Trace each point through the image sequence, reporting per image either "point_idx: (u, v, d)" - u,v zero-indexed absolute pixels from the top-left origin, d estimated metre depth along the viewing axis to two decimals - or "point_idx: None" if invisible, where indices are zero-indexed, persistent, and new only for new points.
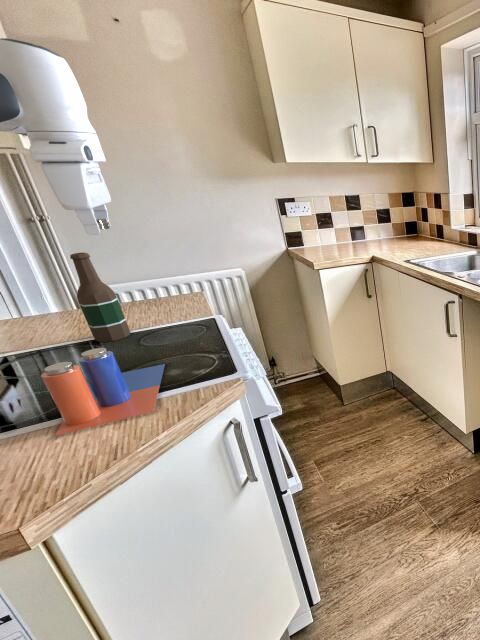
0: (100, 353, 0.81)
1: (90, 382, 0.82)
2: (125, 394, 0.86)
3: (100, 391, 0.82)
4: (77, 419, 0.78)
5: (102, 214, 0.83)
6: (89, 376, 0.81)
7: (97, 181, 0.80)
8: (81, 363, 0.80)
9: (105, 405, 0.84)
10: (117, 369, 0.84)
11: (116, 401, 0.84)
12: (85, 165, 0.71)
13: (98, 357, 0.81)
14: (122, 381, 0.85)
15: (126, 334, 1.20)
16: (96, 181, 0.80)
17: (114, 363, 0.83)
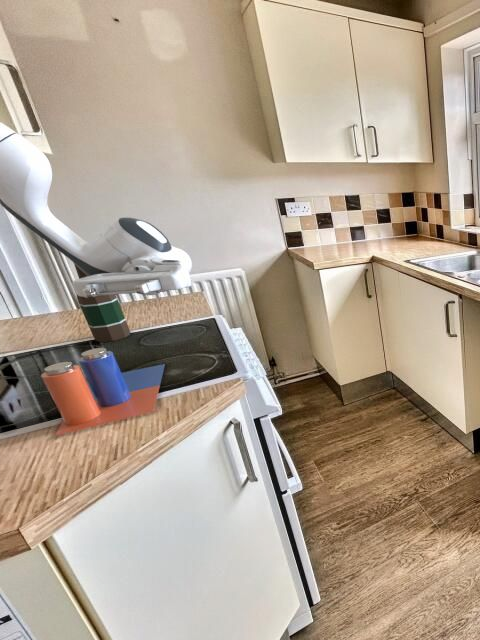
0: (100, 353, 0.81)
1: (90, 382, 0.82)
2: (125, 394, 0.86)
3: (100, 391, 0.82)
4: (77, 419, 0.78)
5: None
6: (89, 376, 0.81)
7: None
8: (81, 363, 0.80)
9: (105, 405, 0.84)
10: (117, 369, 0.84)
11: (116, 401, 0.84)
12: None
13: (98, 357, 0.81)
14: (122, 381, 0.85)
15: (126, 334, 1.20)
16: None
17: (114, 363, 0.83)
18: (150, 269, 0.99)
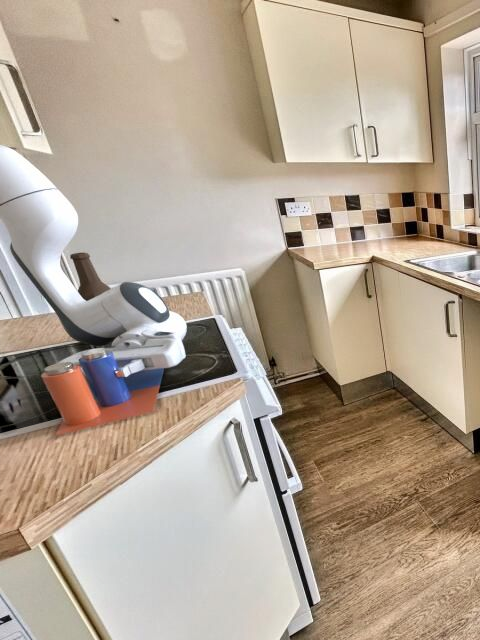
0: (100, 353, 0.81)
1: (90, 382, 0.82)
2: (125, 394, 0.86)
3: (100, 391, 0.82)
4: (77, 419, 0.78)
5: None
6: (89, 376, 0.81)
7: None
8: (81, 363, 0.80)
9: (105, 405, 0.84)
10: None
11: (116, 401, 0.84)
12: None
13: (98, 357, 0.81)
14: (122, 381, 0.85)
15: None
16: None
17: (114, 363, 0.83)
18: (141, 344, 0.93)
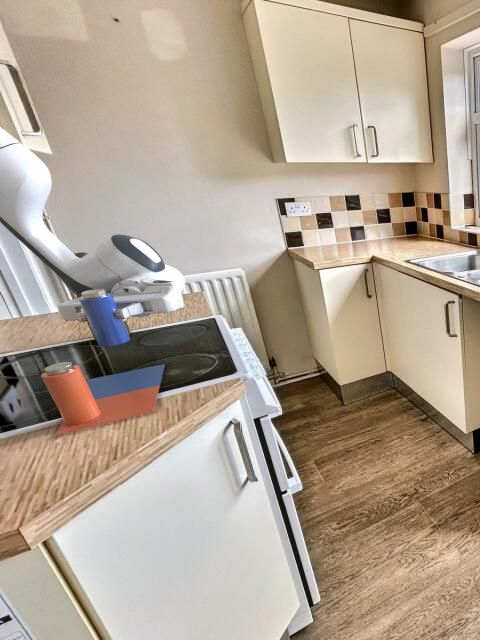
0: (99, 292, 0.83)
1: (90, 321, 0.83)
2: (125, 336, 0.87)
3: (100, 331, 0.84)
4: (77, 419, 0.78)
5: None
6: (89, 315, 0.83)
7: None
8: (81, 301, 0.82)
9: (105, 345, 0.85)
10: None
11: (115, 341, 0.86)
12: None
13: (97, 296, 0.83)
14: (121, 322, 0.87)
15: None
16: None
17: (113, 304, 0.85)
18: (140, 290, 0.94)
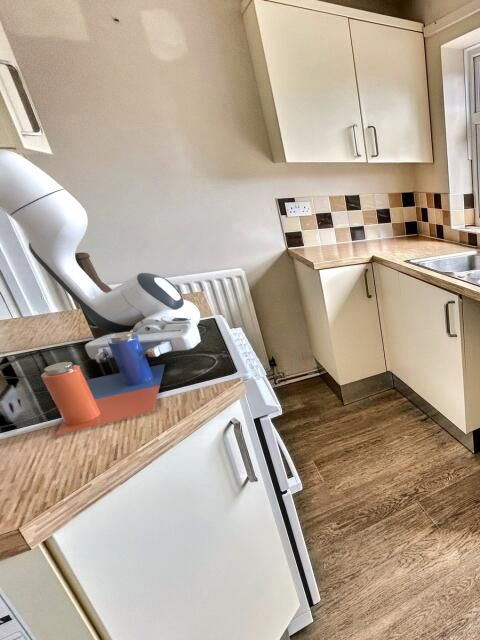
0: (127, 336, 0.89)
1: (118, 362, 0.90)
2: (149, 374, 0.94)
3: (127, 371, 0.91)
4: (77, 419, 0.78)
5: None
6: (117, 357, 0.89)
7: None
8: (110, 345, 0.88)
9: (131, 384, 0.92)
10: (141, 351, 0.92)
11: (141, 380, 0.92)
12: None
13: (125, 340, 0.89)
14: (146, 362, 0.93)
15: None
16: None
17: (139, 346, 0.92)
18: (161, 328, 1.00)
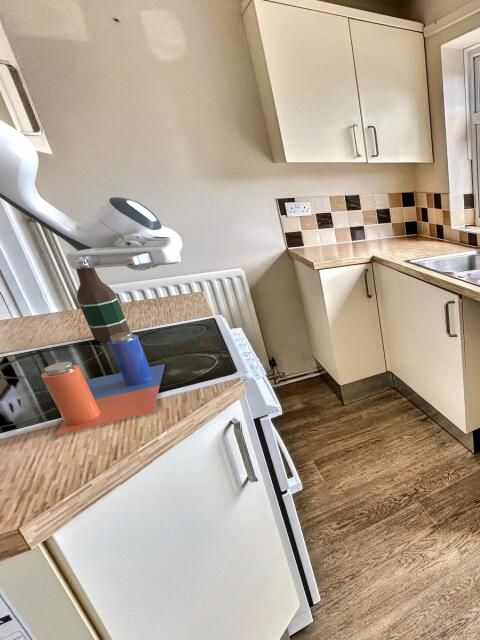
0: (127, 336, 0.89)
1: (118, 362, 0.90)
2: (149, 374, 0.94)
3: (127, 371, 0.91)
4: (77, 419, 0.78)
5: None
6: (117, 357, 0.89)
7: None
8: (110, 345, 0.88)
9: (131, 384, 0.92)
10: (141, 351, 0.92)
11: (141, 380, 0.92)
12: None
13: (125, 340, 0.89)
14: (146, 362, 0.93)
15: None
16: None
17: (139, 346, 0.92)
18: (141, 244, 1.03)
